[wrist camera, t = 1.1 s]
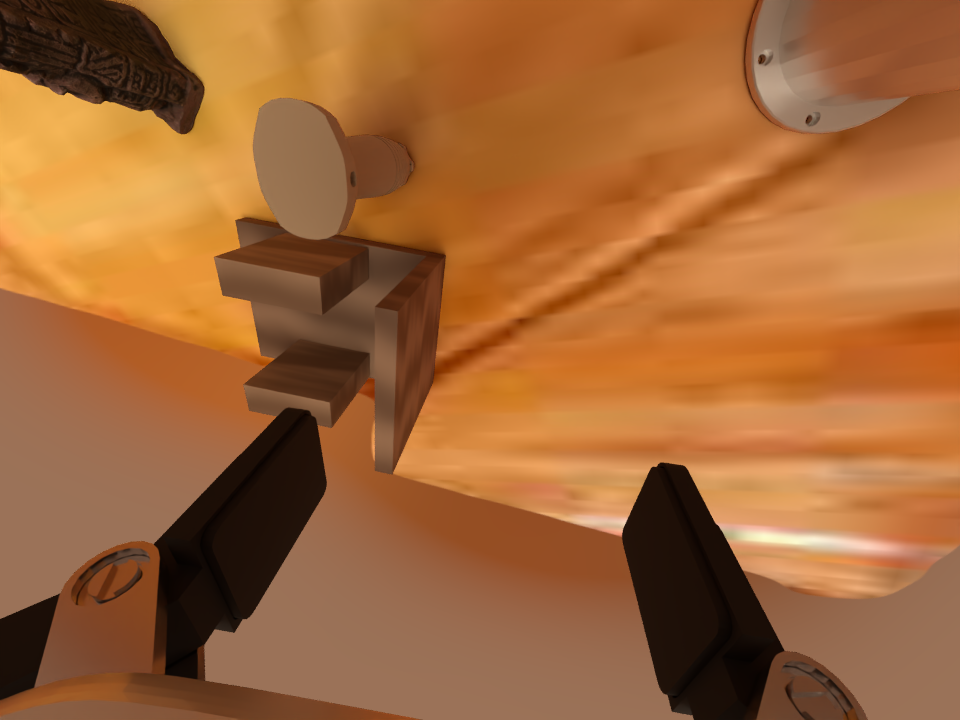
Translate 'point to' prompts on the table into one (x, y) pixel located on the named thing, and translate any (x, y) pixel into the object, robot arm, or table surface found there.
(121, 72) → the statue
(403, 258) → the wooden stand
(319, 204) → the handle
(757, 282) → the table surface
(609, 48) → the table surface
